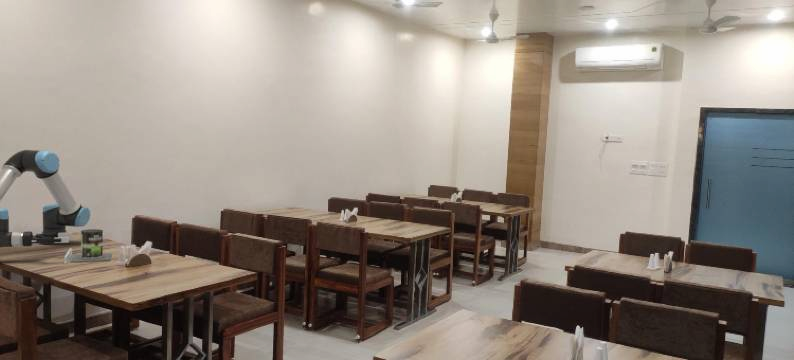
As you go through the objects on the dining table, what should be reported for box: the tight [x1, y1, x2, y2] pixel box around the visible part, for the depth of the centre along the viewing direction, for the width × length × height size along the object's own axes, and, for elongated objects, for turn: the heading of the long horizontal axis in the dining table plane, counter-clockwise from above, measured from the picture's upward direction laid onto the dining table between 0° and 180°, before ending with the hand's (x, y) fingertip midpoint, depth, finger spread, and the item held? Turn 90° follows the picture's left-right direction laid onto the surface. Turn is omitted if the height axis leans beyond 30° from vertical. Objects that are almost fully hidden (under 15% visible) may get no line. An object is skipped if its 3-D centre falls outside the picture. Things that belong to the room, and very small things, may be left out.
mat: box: [70, 252, 113, 263], centre depth 307 cm, size 18×18×1 cm
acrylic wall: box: [63, 247, 73, 265], centre depth 303 cm, size 24×1×4 cm, turn 23°
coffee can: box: [80, 228, 104, 259], centre depth 307 cm, size 10×10×14 cm
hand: (70, 237), depth 302 cm, fingers open, 13 cm apart
